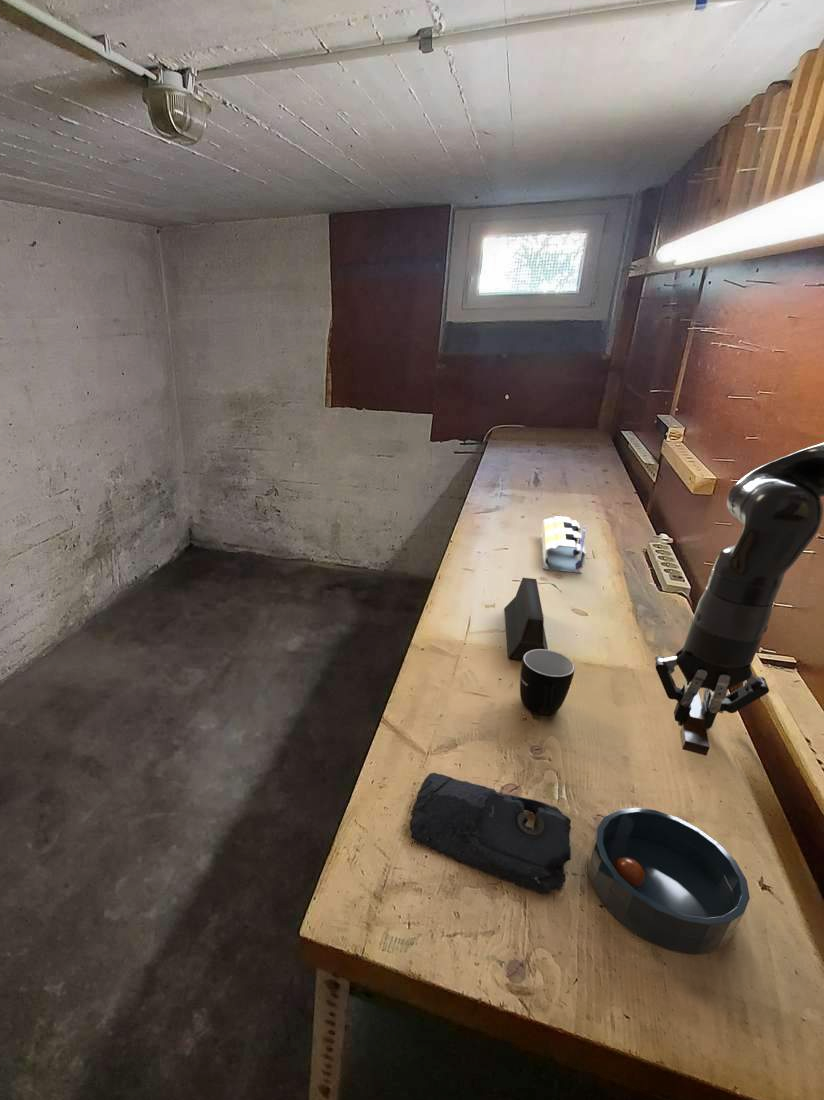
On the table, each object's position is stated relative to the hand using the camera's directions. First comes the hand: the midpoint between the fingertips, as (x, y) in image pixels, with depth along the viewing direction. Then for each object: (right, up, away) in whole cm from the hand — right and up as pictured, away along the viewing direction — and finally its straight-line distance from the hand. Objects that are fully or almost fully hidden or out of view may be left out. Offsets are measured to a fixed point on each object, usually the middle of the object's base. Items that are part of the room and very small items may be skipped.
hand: (690, 724), depth 82 cm
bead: (-13, -18, -7) cm, 23 cm away
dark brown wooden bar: (0, 0, 0) cm, 0 cm away
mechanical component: (+17, -6, +21) cm, 28 cm away
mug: (-10, -4, +27) cm, 29 cm away
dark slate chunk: (-29, -17, +3) cm, 33 cm away
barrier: (-2, +8, +51) cm, 51 cm away
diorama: (+25, +28, +90) cm, 98 cm away
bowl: (-9, -20, -7) cm, 23 cm away
